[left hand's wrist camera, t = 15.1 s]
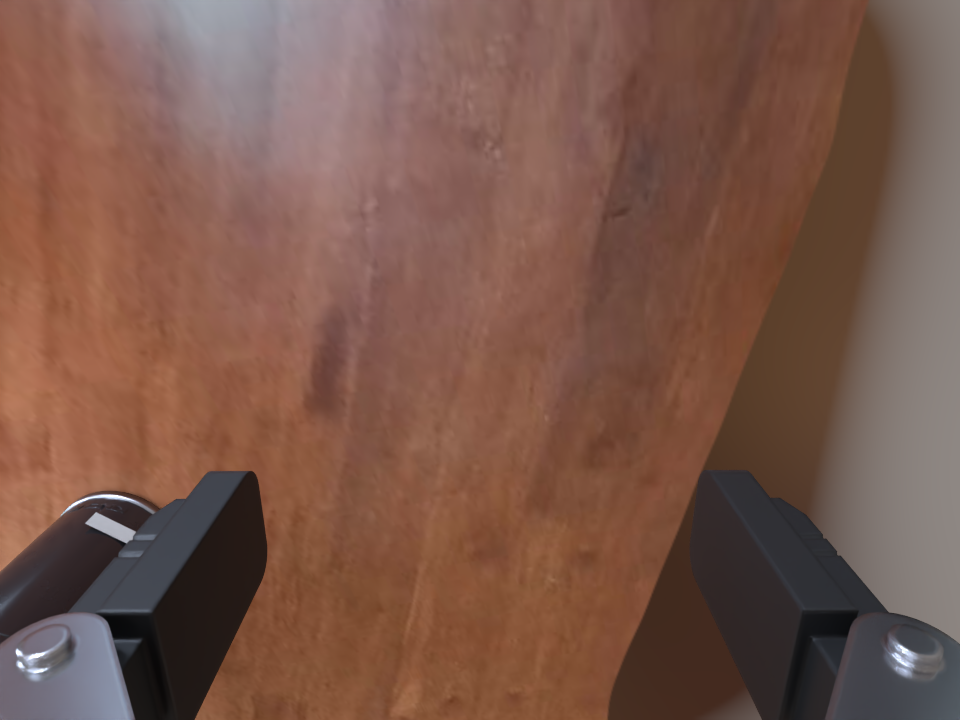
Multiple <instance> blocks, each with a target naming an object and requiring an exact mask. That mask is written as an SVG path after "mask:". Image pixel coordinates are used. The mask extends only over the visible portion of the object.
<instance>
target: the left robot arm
mask: <svg viewBox="0 0 960 720" xmlns="http://www.w3.org/2000/svg"><path fill="white" fill-rule="evenodd" d="M266 561H267V541H266V534H265V526H264V519H263V512H262V505H261V498H260V491H259V484H258V479H257V477H256V475H255V473H254V472H252V471H210V472H208V473H207V474H206V475H205V476H204V477H203V478H202V480H201V481H200V482H199V483H198V485H197V486H196V487H195V488H194V490H193V491H192V492H191V493H190V495H189V496H188V497H187V498H186V499H176V500H174V501H173V502H171V503H170V504H168V505H166V506H165V507H163V508H162V509H159V508H157V507H156V506H155V505H153V504H152V503H150V502H148V501H146V500H145V499H142V498H140V497H138V496H135V495H132V494H129V493H124V492H118V491H101V492H95V493H91V494H88V495H86V496H83V497H81V498H80V499H78V500H77V501H75V502H74V503H73V504H72V505H71V506H69V507H68V508H67V509H66V510H65V511H64V512H63V514H62V515H61V516H60V518H59V519H57V520H56V521H55V522H54V523H53V524H52V525H51V526H50V527H49V528H48V529H47V530H45V531H44V532H43V533H42V534H41V535H40V536H39V537H37V538H36V539H35V540H34V541H33V542H32V543H31V544H30V545H29V546H28V547H27V548H25V549H24V550H23V551H22V552H21V553H20V554H19V555H18V556H17V557H16V558H15V559H14V560H12V561H11V562H10V563H9V564H8V565H7V566H6V567H5V568H4V569H3V570H2V571H0V720H194V719H195V717H196V715H197V713H198V711H199V709H200V707H201V705H202V703H203V701H204V699H205V697H206V695H207V693H208V690H209V688H210V686H211V684H212V682H213V680H214V678H215V676H216V674H217V672H218V670H219V668H220V666H221V664H222V662H223V660H224V657H225V655H226V653H227V651H228V649H229V647H230V645H231V643H232V641H233V639H234V637H235V635H236V633H237V631H238V629H239V627H240V624H241V622H242V620H243V618H244V616H245V614H246V612H247V610H248V608H249V606H250V604H251V602H252V600H253V598H254V596H255V593H256V591H257V589H258V587H259V585H260V583H261V581H262V579H263V576H264V572H265V568H266ZM690 562H691V567H692V572H693V575H694V578H695V580H696V582H697V585H698V587H699V589H700V591H701V593H702V595H703V597H704V599H705V601H706V603H707V605H708V608H709V610H710V612H711V614H712V616H713V618H714V620H715V622H716V624H717V626H718V628H719V630H720V633H721V635H722V637H723V639H724V641H725V643H726V645H727V647H728V649H729V651H730V653H731V656H732V658H733V660H734V662H735V664H736V666H737V668H738V670H739V672H740V674H741V676H742V679H743V681H744V683H745V685H746V687H747V689H748V691H749V693H750V695H751V697H752V699H753V701H754V704H755V706H756V708H757V710H758V712H759V714H760V716H761V718H762V720H960V644H959V643H958V642H956V641H955V640H954V639H952V638H951V637H950V636H948V635H947V634H945V633H944V632H942V631H940V630H939V629H937V628H935V627H933V626H931V625H929V624H927V623H924V622H922V621H919V620H917V619H914V618H911V617H908V616H904V615H900V614H895V613H889V612H888V611H887V610H886V609H885V608H884V606H883V605H882V604H881V603H880V602H879V600H878V599H877V598H876V597H875V596H874V595H873V593H872V592H871V591H870V590H869V589H868V587H867V586H866V585H865V584H864V583H863V582H862V580H861V579H860V578H859V577H858V576H857V574H856V573H855V572H854V571H853V570H852V569H851V567H850V566H849V565H848V564H847V563H846V561H845V560H844V559H843V558H842V557H841V556H838V555H837V551H836V550H835V549H834V547H833V546H832V545H831V544H830V543H829V541H828V540H827V539H823V534H822V533H821V532H820V531H819V530H818V528H817V527H816V526H815V525H814V524H813V523H812V521H811V520H810V519H809V518H808V517H807V515H805V514H804V513H802V512H801V511H799V510H798V509H796V508H795V507H793V506H791V505H790V504H788V503H787V502H785V501H784V500H782V499H781V498H770V497H769V496H768V495H767V493H766V492H765V491H764V490H763V488H762V487H761V486H760V484H759V483H758V482H757V481H756V479H755V478H754V477H753V476H752V474H751V473H750V472H749V471H747V470H704V471H703V472H702V473H701V475H700V477H699V481H698V487H697V494H696V502H695V509H694V516H693V524H692V531H691V538H690Z"/></svg>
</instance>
